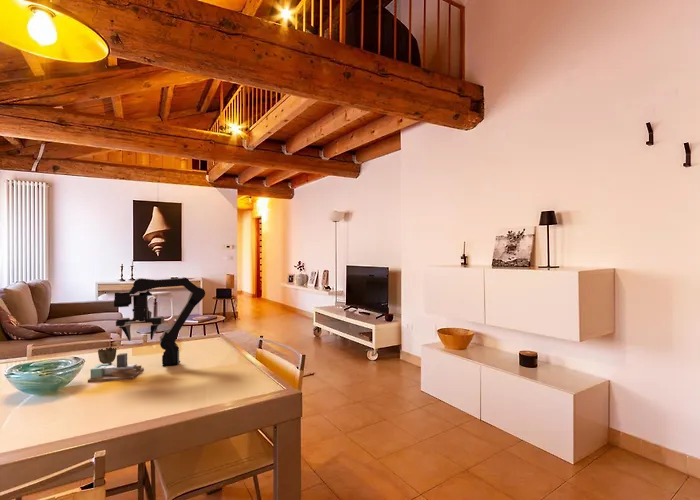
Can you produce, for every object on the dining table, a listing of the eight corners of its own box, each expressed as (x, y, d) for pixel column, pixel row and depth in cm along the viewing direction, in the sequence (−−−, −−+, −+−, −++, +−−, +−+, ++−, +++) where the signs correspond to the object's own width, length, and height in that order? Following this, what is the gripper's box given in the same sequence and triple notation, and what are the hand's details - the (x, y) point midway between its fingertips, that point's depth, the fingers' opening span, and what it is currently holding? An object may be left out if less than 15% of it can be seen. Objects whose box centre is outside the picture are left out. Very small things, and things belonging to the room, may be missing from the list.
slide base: (143, 369, 168) (143, 363, 168) (132, 379, 155) (132, 372, 155) (102, 372, 165) (102, 365, 165) (87, 382, 152) (87, 375, 152)
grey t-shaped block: (136, 370, 163) (136, 352, 163) (133, 373, 159) (133, 354, 159) (101, 372, 161) (101, 354, 161) (96, 375, 157) (96, 356, 157)
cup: (101, 369, 169) (101, 351, 169) (95, 366, 174) (95, 349, 174) (119, 365, 175) (119, 348, 175) (112, 362, 180) (112, 346, 180)
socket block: (109, 371, 163) (109, 363, 163) (101, 377, 155) (101, 368, 155) (99, 372, 162) (99, 364, 162) (90, 377, 155) (90, 369, 155)
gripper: (167, 302, 180) (167, 335, 180) (125, 304, 176) (125, 337, 176) (160, 306, 169) (160, 340, 169) (115, 307, 165) (115, 342, 165)
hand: (140, 340), depth 170 cm, fingers open, 9 cm apart
